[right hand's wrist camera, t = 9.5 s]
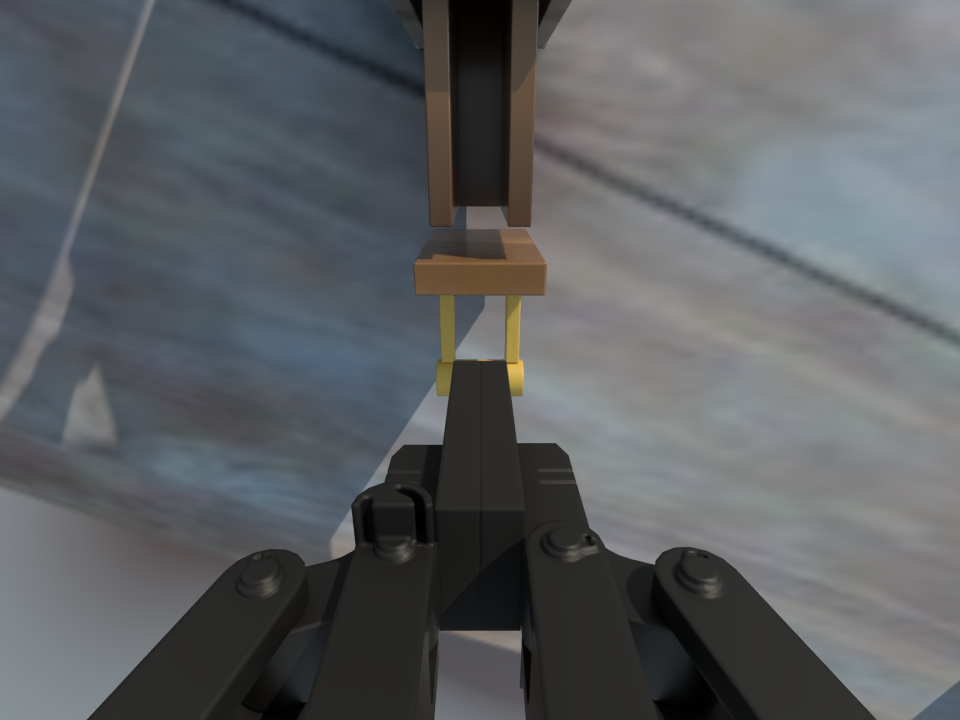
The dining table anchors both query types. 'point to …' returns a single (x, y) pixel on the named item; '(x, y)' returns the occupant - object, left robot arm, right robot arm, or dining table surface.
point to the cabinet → (549, 15)
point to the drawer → (480, 163)
